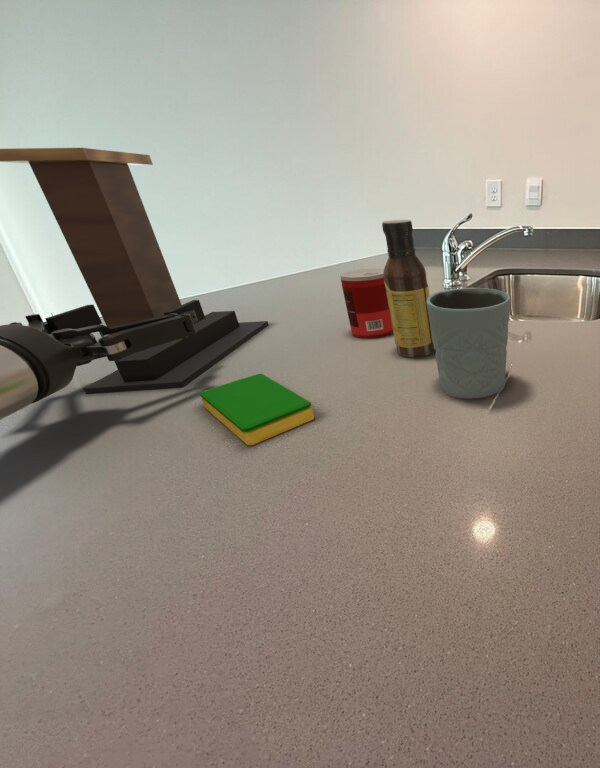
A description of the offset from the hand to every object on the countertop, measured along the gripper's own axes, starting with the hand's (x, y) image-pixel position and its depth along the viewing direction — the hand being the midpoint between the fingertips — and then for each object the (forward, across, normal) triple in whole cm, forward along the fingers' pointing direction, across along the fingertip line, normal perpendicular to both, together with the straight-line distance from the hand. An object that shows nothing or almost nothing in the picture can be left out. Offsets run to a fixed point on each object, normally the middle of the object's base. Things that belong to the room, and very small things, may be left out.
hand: (148, 311), depth 57 cm
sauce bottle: (0, +36, -9) cm, 37 cm away
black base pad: (+6, 0, -9) cm, 11 cm away
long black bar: (+6, 0, -8) cm, 10 cm away
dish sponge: (-17, +19, -9) cm, 27 cm away
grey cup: (-14, +45, -9) cm, 48 cm away
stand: (+17, -13, -9) cm, 23 cm away
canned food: (+12, +28, -9) cm, 32 cm away
